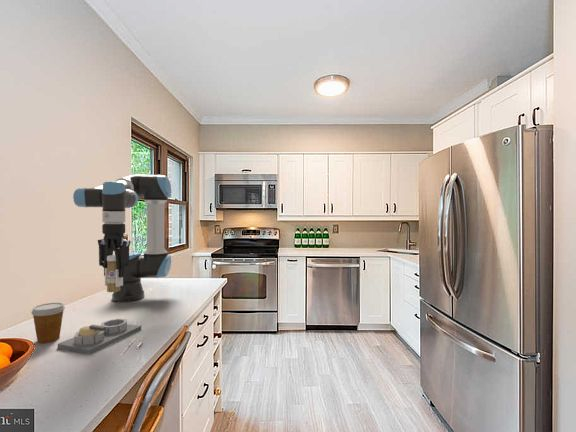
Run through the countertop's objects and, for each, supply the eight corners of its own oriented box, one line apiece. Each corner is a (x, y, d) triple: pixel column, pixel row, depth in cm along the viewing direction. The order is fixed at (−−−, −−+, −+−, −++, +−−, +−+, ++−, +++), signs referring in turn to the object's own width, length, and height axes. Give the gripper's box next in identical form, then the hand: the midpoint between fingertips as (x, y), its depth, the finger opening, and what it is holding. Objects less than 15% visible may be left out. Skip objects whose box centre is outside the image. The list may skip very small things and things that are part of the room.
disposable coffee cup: (46, 333, 117) (46, 301, 116) (71, 334, 116) (71, 302, 116) (24, 344, 107) (23, 310, 107) (51, 345, 107) (51, 310, 107)
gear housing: (112, 325, 126) (112, 309, 126) (141, 329, 121) (141, 313, 121) (57, 348, 105) (57, 328, 105) (89, 354, 101) (89, 334, 100)
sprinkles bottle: (106, 293, 114) (106, 256, 114) (107, 290, 119) (107, 254, 118) (120, 292, 116) (120, 255, 116) (121, 289, 121) (121, 254, 120)
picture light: (134, 339, 113) (134, 333, 113) (147, 339, 114) (147, 333, 114) (118, 357, 100) (118, 351, 99) (133, 357, 100) (133, 350, 100)
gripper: (87, 223, 116) (87, 285, 117) (124, 224, 111) (124, 289, 111) (104, 222, 123) (104, 281, 124) (140, 223, 118) (140, 285, 118)
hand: (113, 285), depth 118 cm, fingers closed on sprinkles bottle, 4 cm apart
